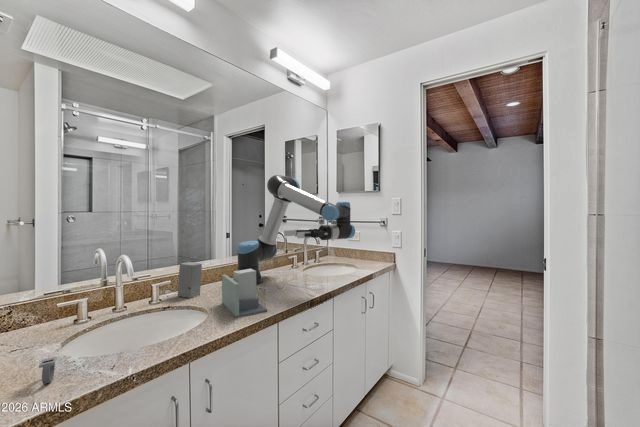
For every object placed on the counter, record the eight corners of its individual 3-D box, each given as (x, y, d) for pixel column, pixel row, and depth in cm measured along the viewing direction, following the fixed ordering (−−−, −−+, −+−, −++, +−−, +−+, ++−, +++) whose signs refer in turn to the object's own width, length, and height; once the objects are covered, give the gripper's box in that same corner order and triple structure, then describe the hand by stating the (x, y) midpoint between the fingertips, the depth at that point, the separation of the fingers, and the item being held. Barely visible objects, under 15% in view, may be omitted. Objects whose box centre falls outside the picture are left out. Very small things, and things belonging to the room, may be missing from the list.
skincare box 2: (251, 301, 124) (251, 268, 124) (257, 305, 119) (257, 270, 119) (232, 305, 119) (232, 270, 119) (238, 309, 114) (237, 272, 114)
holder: (222, 303, 124) (222, 274, 124) (250, 298, 131) (250, 271, 131) (235, 318, 107) (235, 284, 107) (267, 311, 114) (267, 279, 114)
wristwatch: (43, 377, 69) (43, 356, 69) (58, 373, 71) (58, 353, 71) (37, 390, 64) (36, 368, 64) (53, 385, 66) (53, 364, 65)
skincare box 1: (177, 296, 134) (177, 263, 134) (189, 292, 141) (189, 261, 141) (190, 298, 131) (190, 264, 131) (202, 294, 138) (202, 262, 138)
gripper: (343, 241, 132) (303, 244, 121) (315, 237, 153) (279, 240, 142) (343, 226, 132) (303, 227, 121) (315, 224, 153) (279, 225, 142)
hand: (290, 234), depth 131 cm, fingers open, 13 cm apart
